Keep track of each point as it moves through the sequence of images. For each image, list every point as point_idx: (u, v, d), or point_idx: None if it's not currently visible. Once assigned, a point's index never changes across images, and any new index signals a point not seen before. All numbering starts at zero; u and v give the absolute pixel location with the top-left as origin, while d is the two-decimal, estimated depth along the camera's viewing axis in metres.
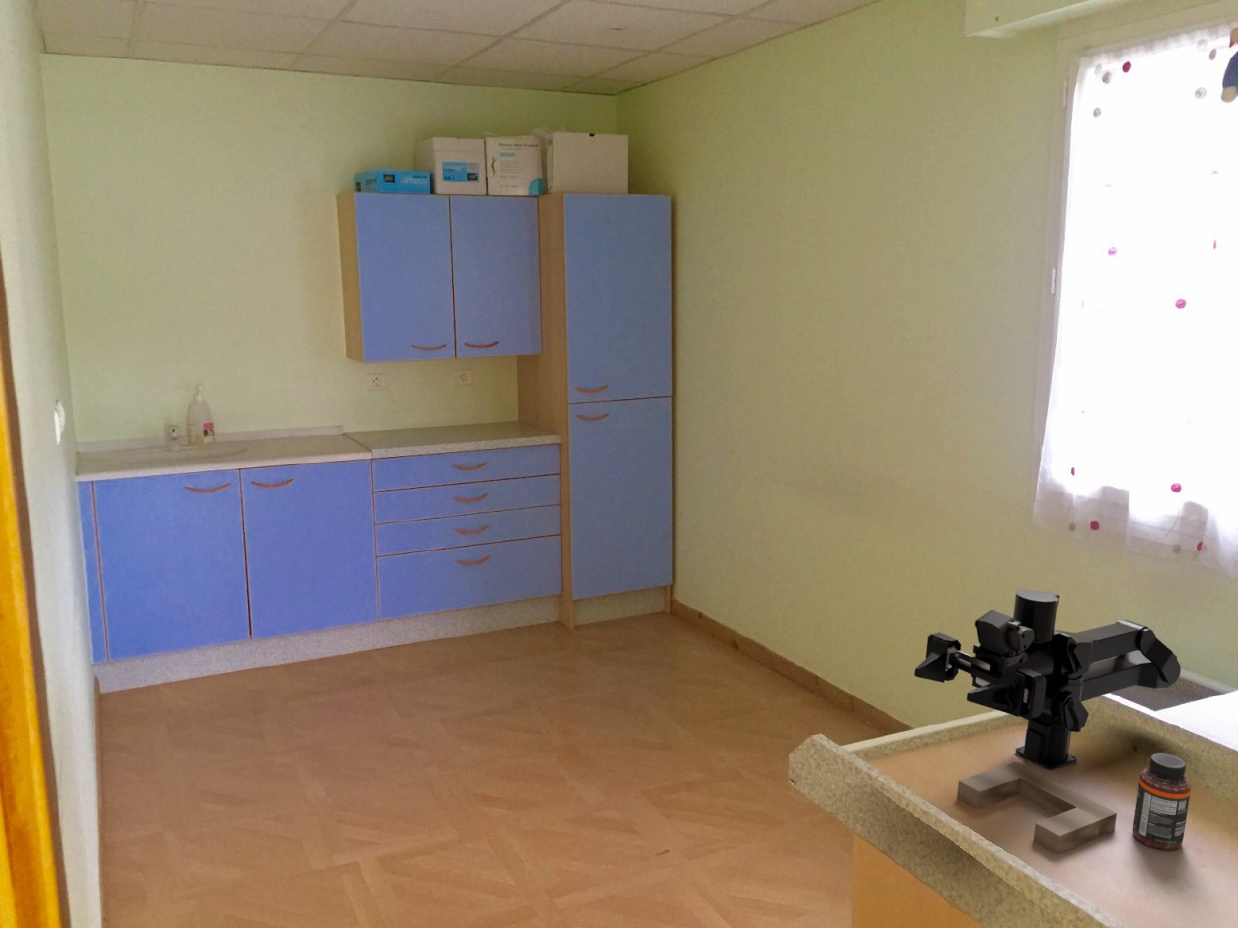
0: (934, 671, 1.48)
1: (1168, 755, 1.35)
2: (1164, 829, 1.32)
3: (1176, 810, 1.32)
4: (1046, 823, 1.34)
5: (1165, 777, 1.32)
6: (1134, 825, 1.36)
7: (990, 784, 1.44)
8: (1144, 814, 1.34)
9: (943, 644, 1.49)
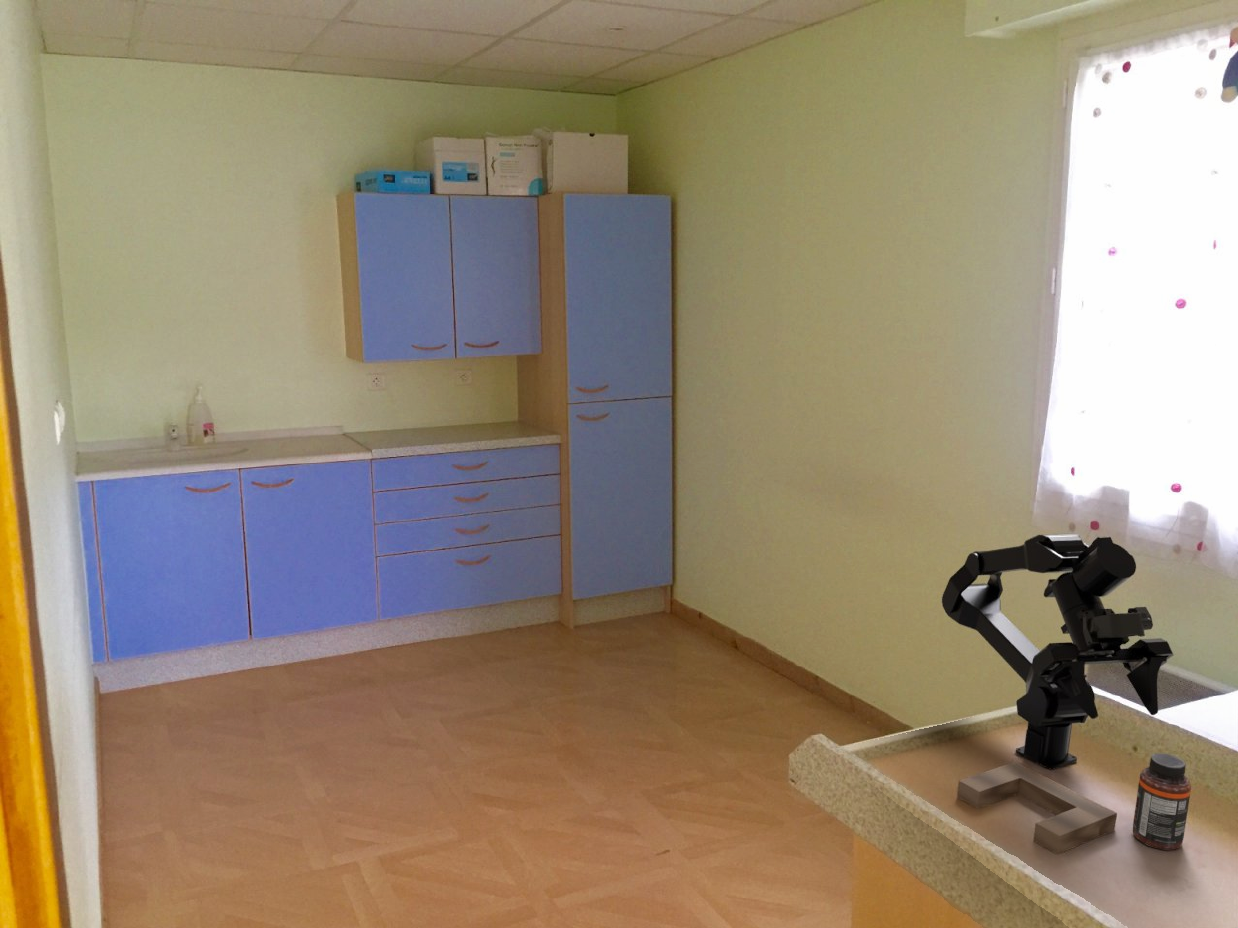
0: None
1: (1168, 755, 1.35)
2: (1164, 829, 1.32)
3: (1176, 810, 1.32)
4: (1046, 823, 1.34)
5: (1166, 777, 1.32)
6: (1134, 825, 1.36)
7: (990, 784, 1.44)
8: (1144, 814, 1.34)
9: (1081, 664, 1.41)
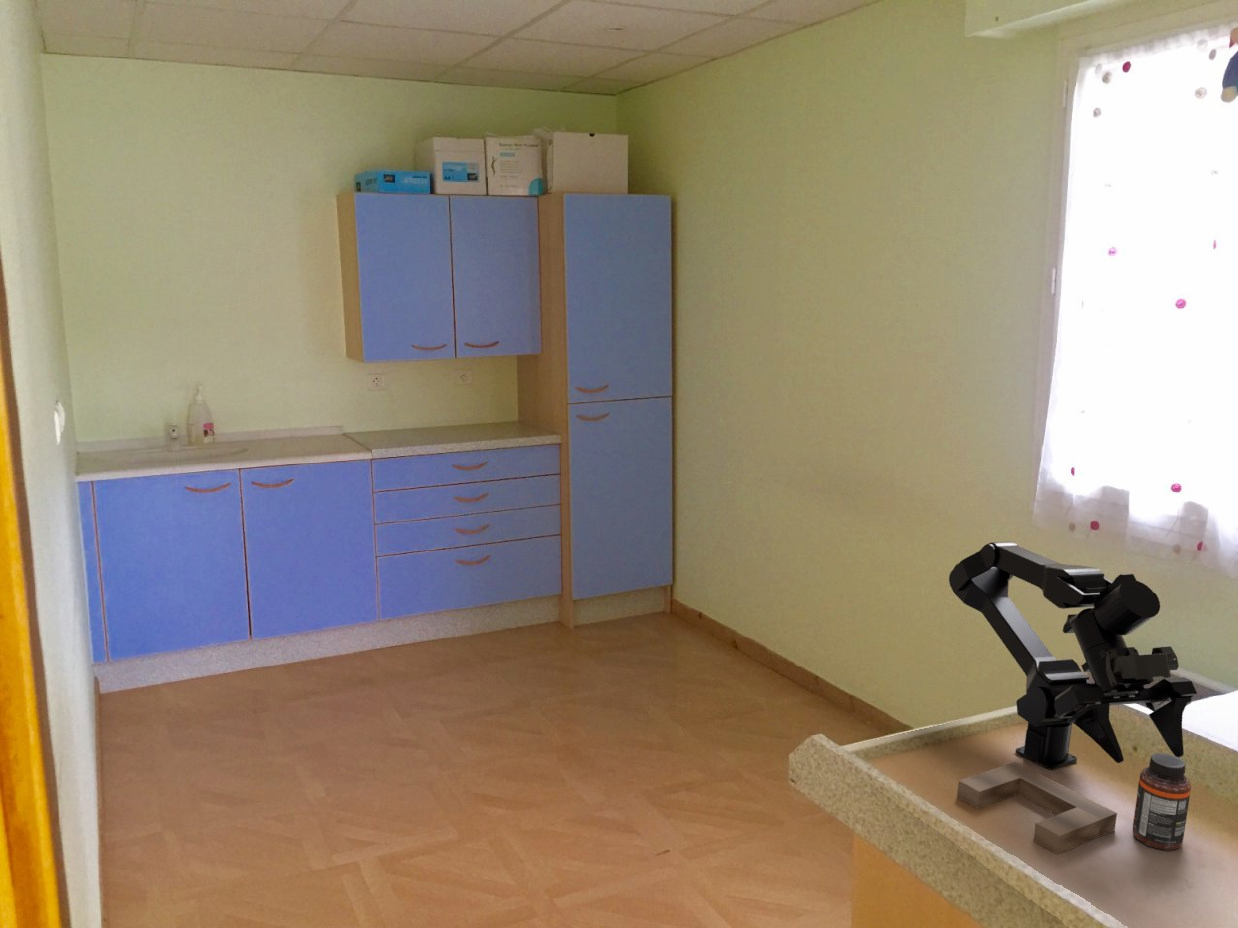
0: None
1: (1168, 755, 1.35)
2: (1164, 828, 1.32)
3: (1176, 810, 1.32)
4: (1046, 823, 1.34)
5: (1165, 777, 1.32)
6: (1134, 825, 1.36)
7: (990, 784, 1.44)
8: (1144, 814, 1.34)
9: (1105, 707, 1.37)
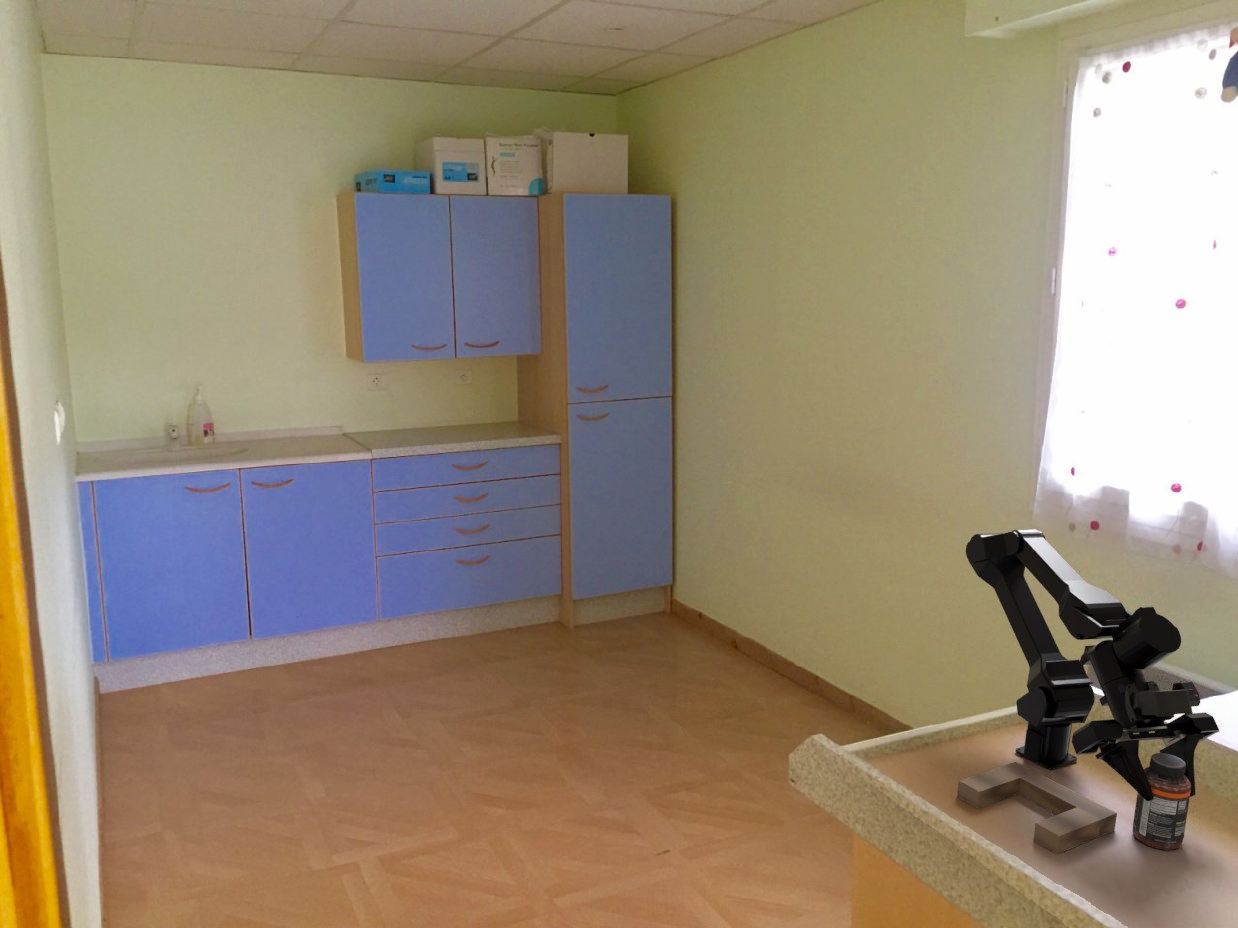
0: None
1: (1168, 755, 1.35)
2: (1164, 828, 1.32)
3: (1176, 810, 1.32)
4: (1046, 823, 1.34)
5: (1166, 777, 1.32)
6: (1134, 825, 1.36)
7: (990, 784, 1.44)
8: (1145, 814, 1.34)
9: (1135, 743, 1.34)
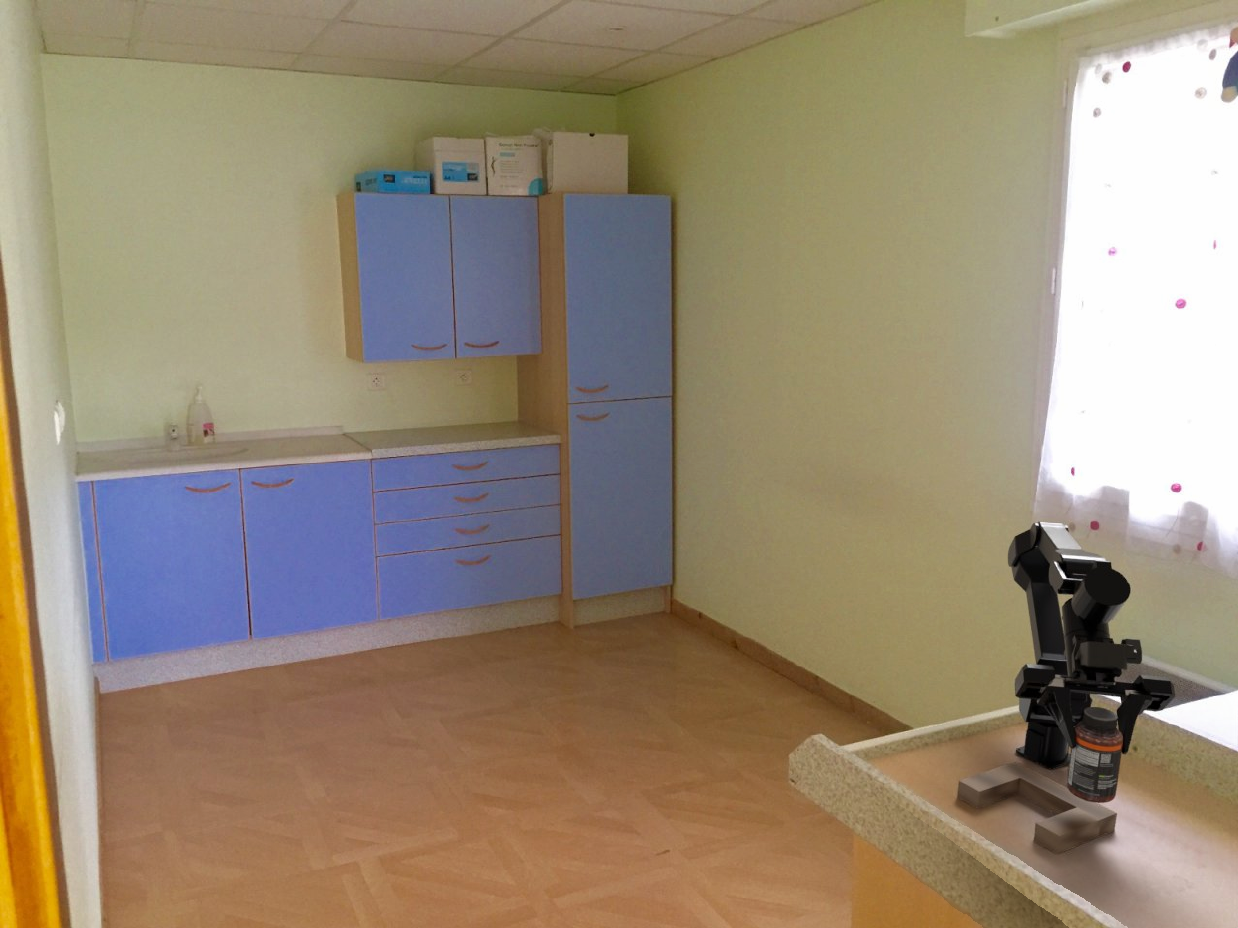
0: None
1: (1106, 710, 1.34)
2: (1086, 779, 1.33)
3: (1098, 762, 1.32)
4: (1046, 823, 1.34)
5: (1091, 728, 1.33)
6: None
7: (990, 784, 1.44)
8: (1071, 763, 1.35)
9: (1065, 691, 1.35)
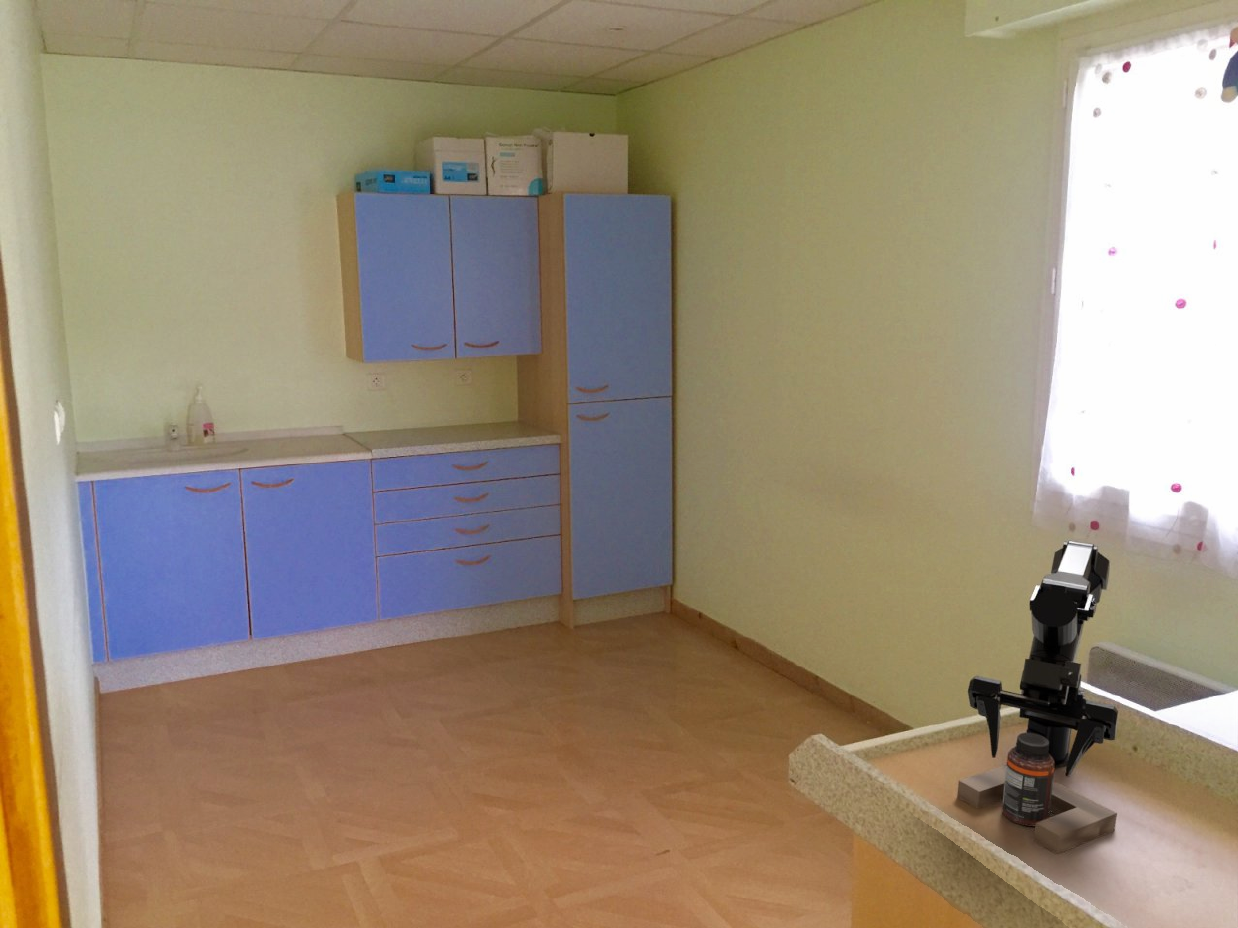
0: (998, 729, 1.42)
1: (1041, 737, 1.39)
2: (1012, 800, 1.38)
3: (1022, 784, 1.37)
4: (1046, 823, 1.34)
5: (1019, 752, 1.38)
6: None
7: (990, 784, 1.44)
8: None
9: (993, 702, 1.41)
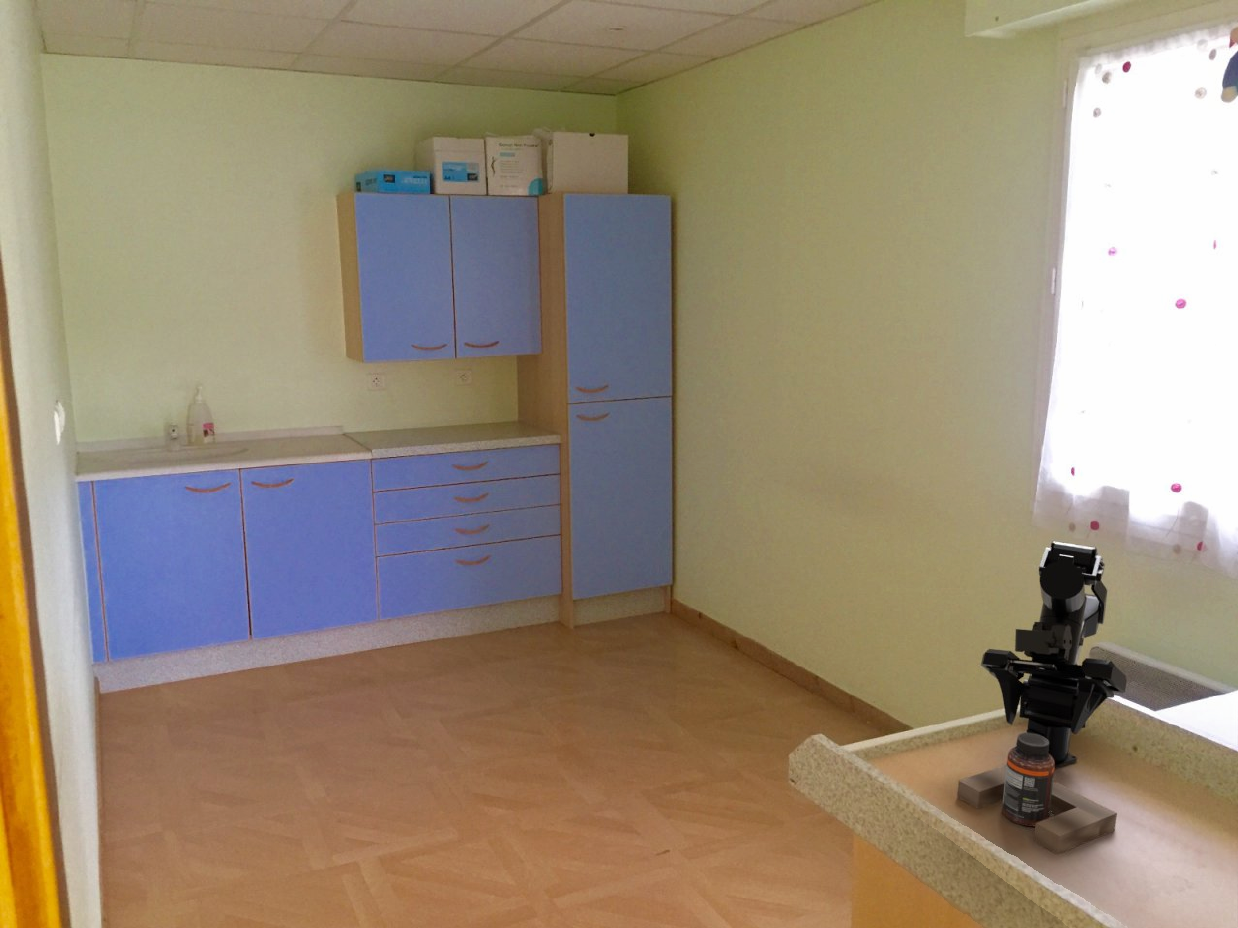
0: (1015, 697, 1.50)
1: (1041, 737, 1.39)
2: (1012, 800, 1.38)
3: (1022, 784, 1.37)
4: (1046, 823, 1.34)
5: (1019, 752, 1.38)
6: None
7: (990, 784, 1.44)
8: None
9: (1002, 672, 1.50)
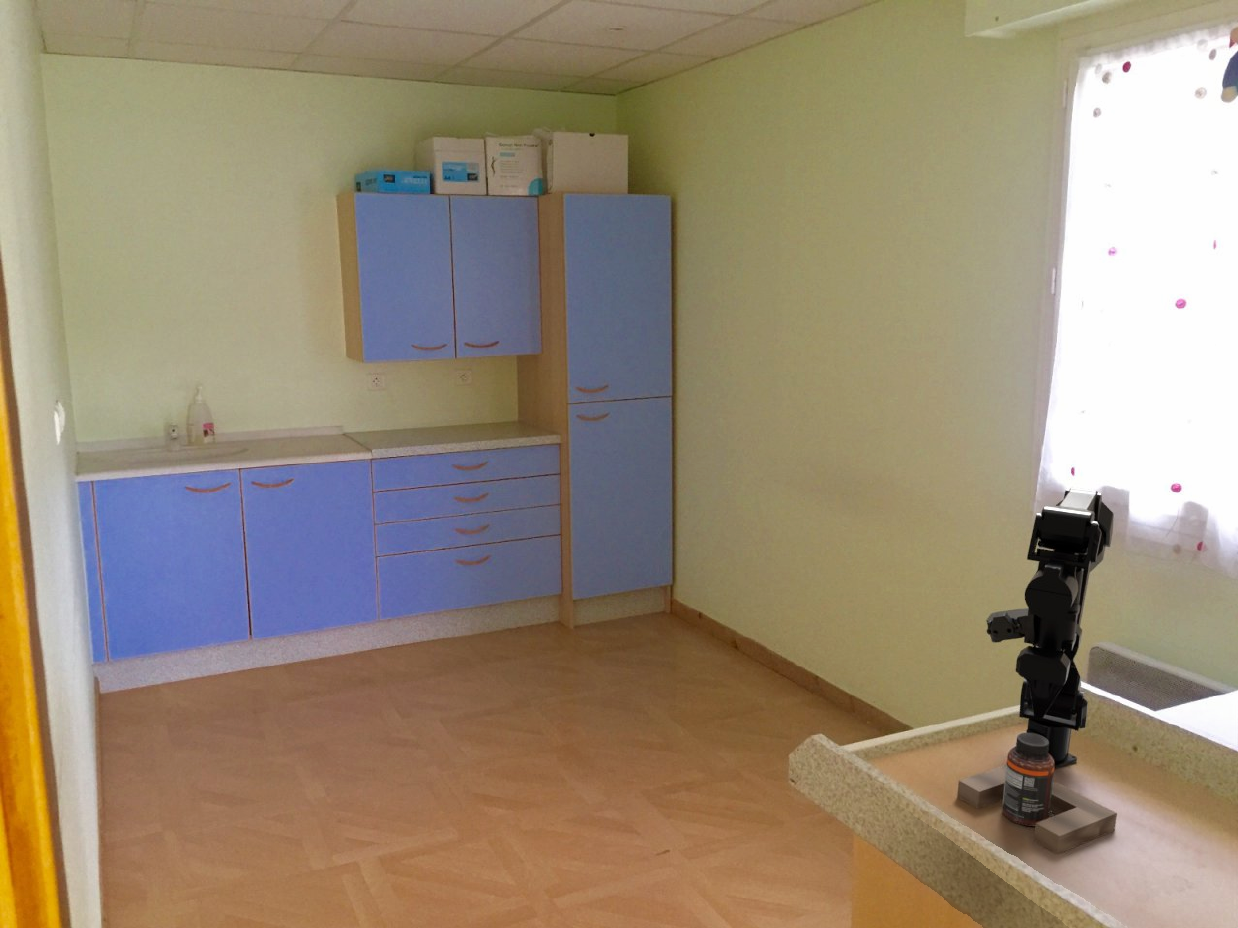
0: None
1: (1041, 737, 1.39)
2: (1012, 800, 1.38)
3: (1022, 784, 1.37)
4: (1046, 823, 1.34)
5: (1019, 752, 1.38)
6: None
7: (990, 784, 1.44)
8: (1004, 784, 1.40)
9: None
